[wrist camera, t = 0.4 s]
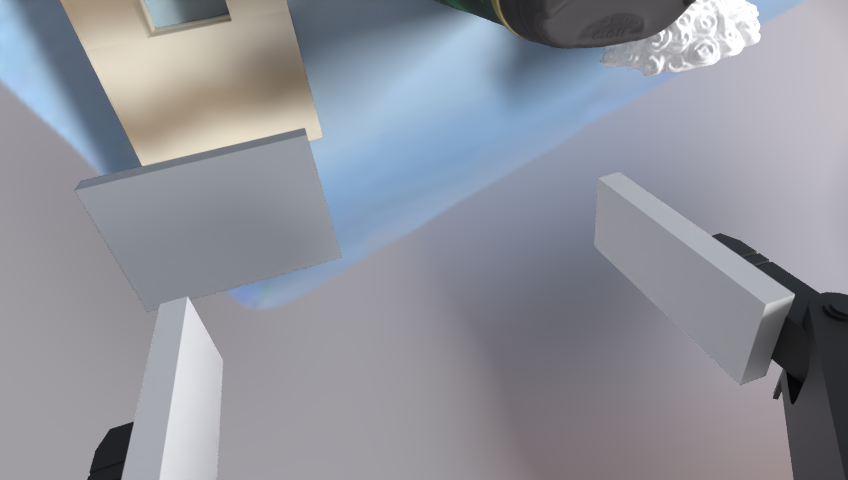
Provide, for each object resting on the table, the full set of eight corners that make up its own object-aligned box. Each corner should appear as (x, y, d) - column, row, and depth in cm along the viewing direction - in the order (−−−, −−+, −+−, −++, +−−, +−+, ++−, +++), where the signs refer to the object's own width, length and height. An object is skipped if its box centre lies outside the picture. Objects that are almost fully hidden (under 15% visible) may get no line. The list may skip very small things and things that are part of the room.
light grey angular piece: (140, 89, 35) (74, 190, 22) (286, 58, 36) (306, 135, 23) (181, 180, 39) (147, 312, 26) (311, 148, 40) (341, 257, 27)
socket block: (32, -101, 28) (8, -104, 25) (249, -134, 30) (249, -140, 27) (156, 159, 37) (148, 179, 34) (317, 121, 39) (323, 137, 36)
